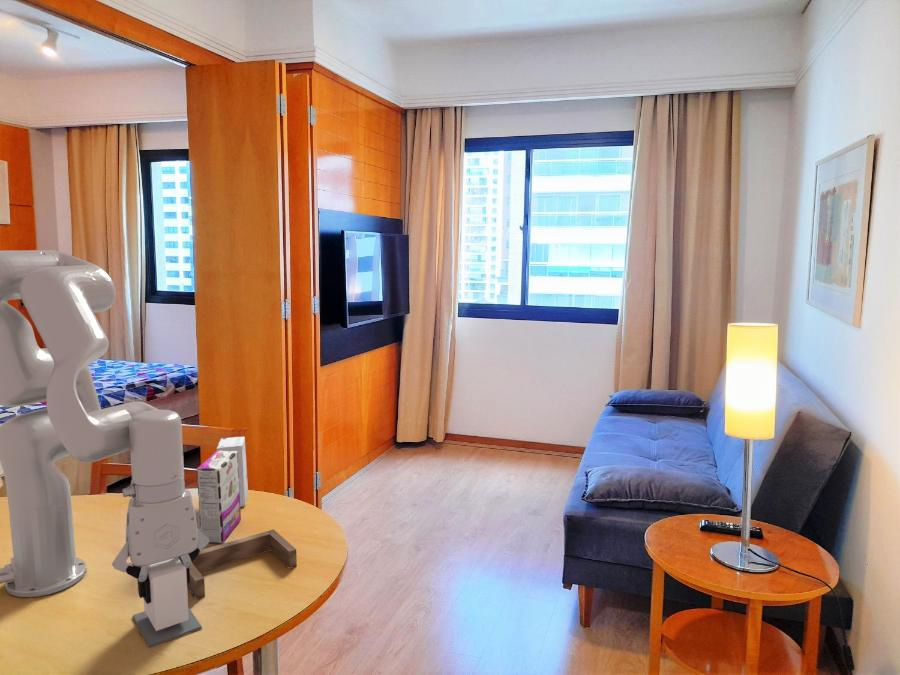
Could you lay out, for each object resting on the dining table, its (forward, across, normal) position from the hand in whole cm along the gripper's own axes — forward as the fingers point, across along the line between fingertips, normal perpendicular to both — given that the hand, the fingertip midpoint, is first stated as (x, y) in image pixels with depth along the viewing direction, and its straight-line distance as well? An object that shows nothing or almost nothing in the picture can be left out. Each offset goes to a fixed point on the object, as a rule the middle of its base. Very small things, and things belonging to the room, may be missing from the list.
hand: (164, 592), depth 105 cm
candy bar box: (+6, +18, +27) cm, 33 cm away
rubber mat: (+5, 0, 0) cm, 5 cm away
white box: (+4, 0, 0) cm, 4 cm away
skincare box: (+6, +26, +41) cm, 49 cm away
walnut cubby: (+5, +16, +8) cm, 18 cm away
